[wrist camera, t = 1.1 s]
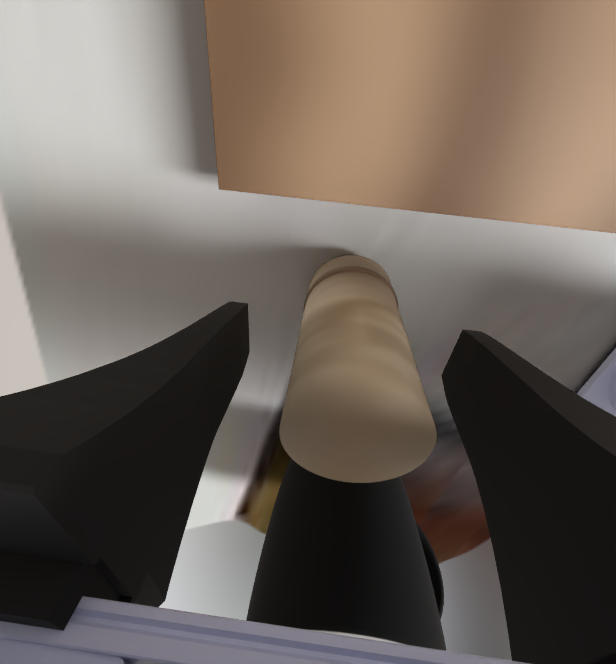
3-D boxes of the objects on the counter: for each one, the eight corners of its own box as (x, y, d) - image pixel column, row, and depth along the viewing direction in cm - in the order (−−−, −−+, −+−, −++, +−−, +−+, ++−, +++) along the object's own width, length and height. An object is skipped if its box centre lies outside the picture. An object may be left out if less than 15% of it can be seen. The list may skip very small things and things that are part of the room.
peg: (398, 251, 13) (464, 395, 6) (379, 322, 15) (412, 492, 8) (313, 241, 13) (279, 371, 6) (306, 313, 15) (275, 473, 8)
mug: (259, 457, 23) (210, 649, 14) (328, 392, 18) (315, 617, 10) (380, 513, 26) (398, 698, 17) (465, 469, 21) (548, 693, 13)
